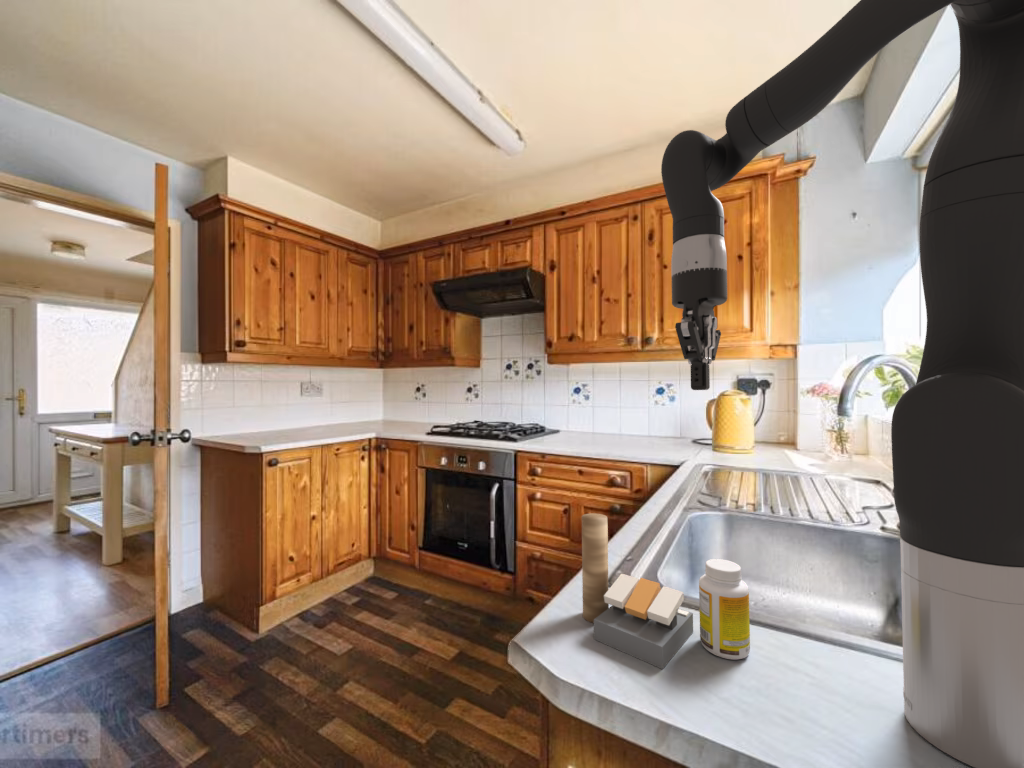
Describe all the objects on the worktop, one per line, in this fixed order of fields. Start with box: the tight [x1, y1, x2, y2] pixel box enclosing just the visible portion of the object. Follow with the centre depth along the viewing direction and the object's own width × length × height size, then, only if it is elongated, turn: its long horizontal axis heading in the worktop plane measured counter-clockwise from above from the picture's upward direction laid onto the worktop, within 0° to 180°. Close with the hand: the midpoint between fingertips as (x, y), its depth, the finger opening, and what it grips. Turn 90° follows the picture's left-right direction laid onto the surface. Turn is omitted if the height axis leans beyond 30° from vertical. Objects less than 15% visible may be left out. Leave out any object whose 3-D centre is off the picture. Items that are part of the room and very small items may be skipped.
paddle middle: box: [625, 577, 662, 620], centre depth 56 cm, size 3×5×2 cm, turn 138°
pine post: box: [581, 513, 610, 624], centre depth 61 cm, size 4×4×14 cm
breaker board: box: [593, 605, 694, 670], centre depth 56 cm, size 9×10×4 cm
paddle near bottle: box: [647, 585, 685, 626], centre depth 54 cm, size 3×5×2 cm, turn 138°
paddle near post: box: [604, 573, 640, 609], centre depth 58 cm, size 3×5×1 cm, turn 138°
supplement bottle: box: [698, 558, 751, 661], centre depth 53 cm, size 6×6×10 cm
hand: (700, 389), depth 63 cm, fingers closed
